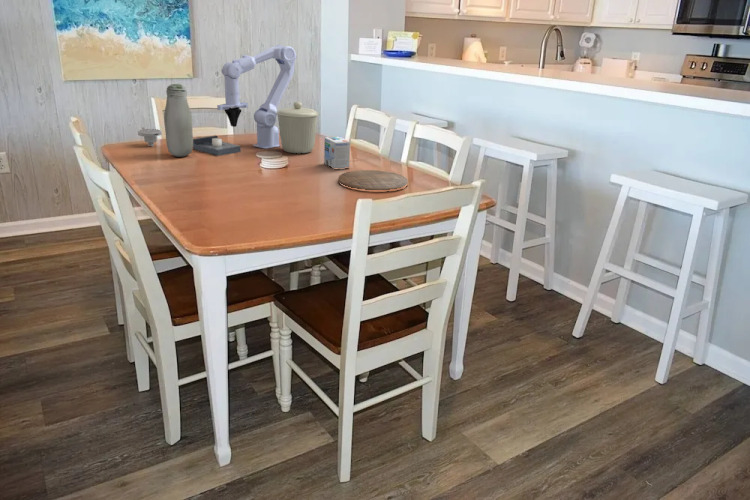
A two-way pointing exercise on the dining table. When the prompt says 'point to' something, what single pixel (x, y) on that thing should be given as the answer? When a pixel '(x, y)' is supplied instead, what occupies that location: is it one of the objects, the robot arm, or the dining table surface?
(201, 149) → the jig
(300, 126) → the canister
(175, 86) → the grey green bottle
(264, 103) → the robot arm
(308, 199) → the dining table surface
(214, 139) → the white rounded capsule
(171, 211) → the dining table surface
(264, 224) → the dining table surface
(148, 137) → the showerhead
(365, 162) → the dining table surface
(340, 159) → the light bulb box
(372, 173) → the trivet
